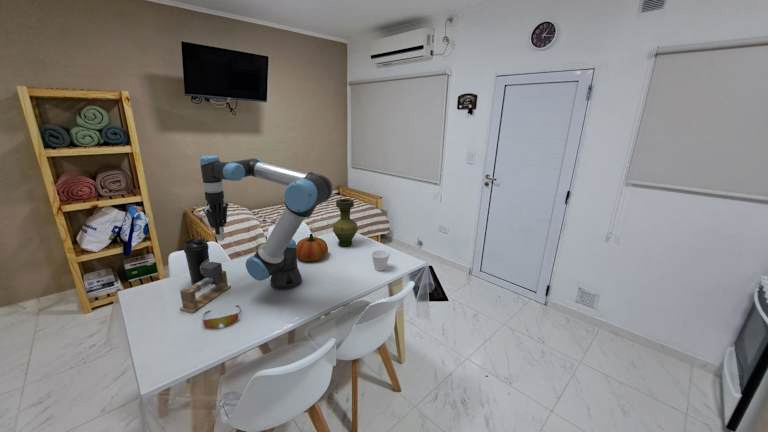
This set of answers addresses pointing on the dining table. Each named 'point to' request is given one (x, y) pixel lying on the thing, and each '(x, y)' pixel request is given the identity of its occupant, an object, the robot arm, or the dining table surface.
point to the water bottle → (196, 258)
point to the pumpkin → (311, 248)
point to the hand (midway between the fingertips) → (220, 240)
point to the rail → (195, 304)
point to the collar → (212, 271)
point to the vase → (345, 223)
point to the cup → (380, 259)
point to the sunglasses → (221, 320)
